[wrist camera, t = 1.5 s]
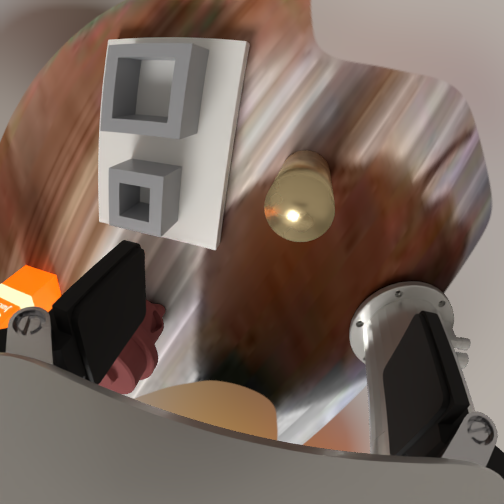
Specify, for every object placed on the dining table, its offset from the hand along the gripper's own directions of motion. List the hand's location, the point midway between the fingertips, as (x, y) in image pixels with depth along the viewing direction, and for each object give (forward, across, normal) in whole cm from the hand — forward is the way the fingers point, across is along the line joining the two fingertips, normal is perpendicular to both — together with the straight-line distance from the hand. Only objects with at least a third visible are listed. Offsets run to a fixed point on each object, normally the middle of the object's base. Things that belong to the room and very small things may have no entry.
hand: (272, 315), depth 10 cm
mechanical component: (+21, +16, +21) cm, 34 cm away
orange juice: (+21, +35, +25) cm, 48 cm away
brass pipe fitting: (+21, 0, 0) cm, 21 cm away
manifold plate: (+21, +14, -1) cm, 25 cm away
